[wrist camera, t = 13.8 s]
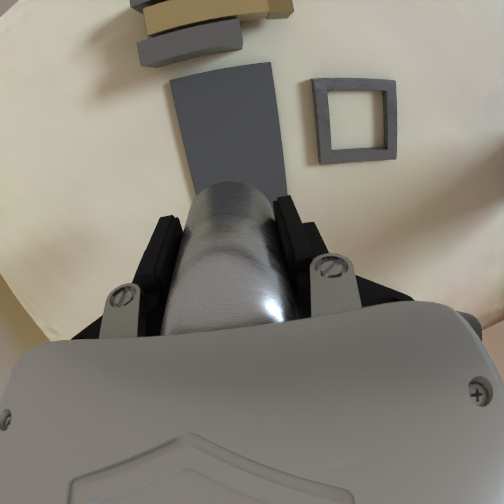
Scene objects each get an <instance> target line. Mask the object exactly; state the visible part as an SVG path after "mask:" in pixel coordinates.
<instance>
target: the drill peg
mask: <svg viewBox="0 0 504 504" xmlns="http://www.w3.org/2000/svg"><path fill="white" fill-rule="evenodd" d="M296 319H299V315H298V311H297V306H296V302H295V298H294V294H293V290H292V285H291V282H290V279H289V275H288V271H287V267H286V263H285V259H284V255H283V251H282V247H281V243H280V239H279V235H278V231H277V227H276V223H275V218H274V214H273V211H272V207H271V205H270V203H269V201H268V199H267V198H266V197H265V196H264V194H262V193H261V192H260V191H259V190H258V189H256V188H255V187H253V186H251V185H248V184H245V183H242V182H235V181H226V182H220V183H217V184H214V185H211V186H209V187H207V188H206V189H204V190H203V191H202V192H200V193H199V194H198V196H197V197H196V198H195V199H194V201H193V203H192V205H191V207H190V210H189V213H188V217H187V220H186V224H185V228H184V231H183V235H182V239H181V243H180V247H179V251H178V255H177V259H176V263H175V267H174V271H173V275H172V280H171V284H170V288H169V293H168V297H167V302H166V306H165V311H164V316H163V321H162V326H161V331H160V336H163V335H175V334H187V333H197V332H207V331H216V330H225V329H233V328H241V327H249V326H256V325H264V324H270V323H277V322H284V321H290V320H296Z"/></svg>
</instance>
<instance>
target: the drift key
mask: <svg viewBox="0 0 504 504" xmlns="http://www.w3.org/2000/svg"><path fill="white" fill-rule="evenodd" d="M293 12H294V8H293V3H292V0H169V1H165V2H162V3H158V4H155V5H152V6H149V7H146V8H143V13H144V19H145V25H146V31H147V36H150V37H152V38H154V37H157V36H160V35H164V34H167V33H171V32H174V31H178V30H182V29H186V28H190V27H195V26H199V25H204V24H209V23H214V22H220V21H226V20H232V19H239V21H244V20H253V19H263V18H266V19H282V18H288V17H289V16H290V15H291V14H292V13H293Z"/></svg>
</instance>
